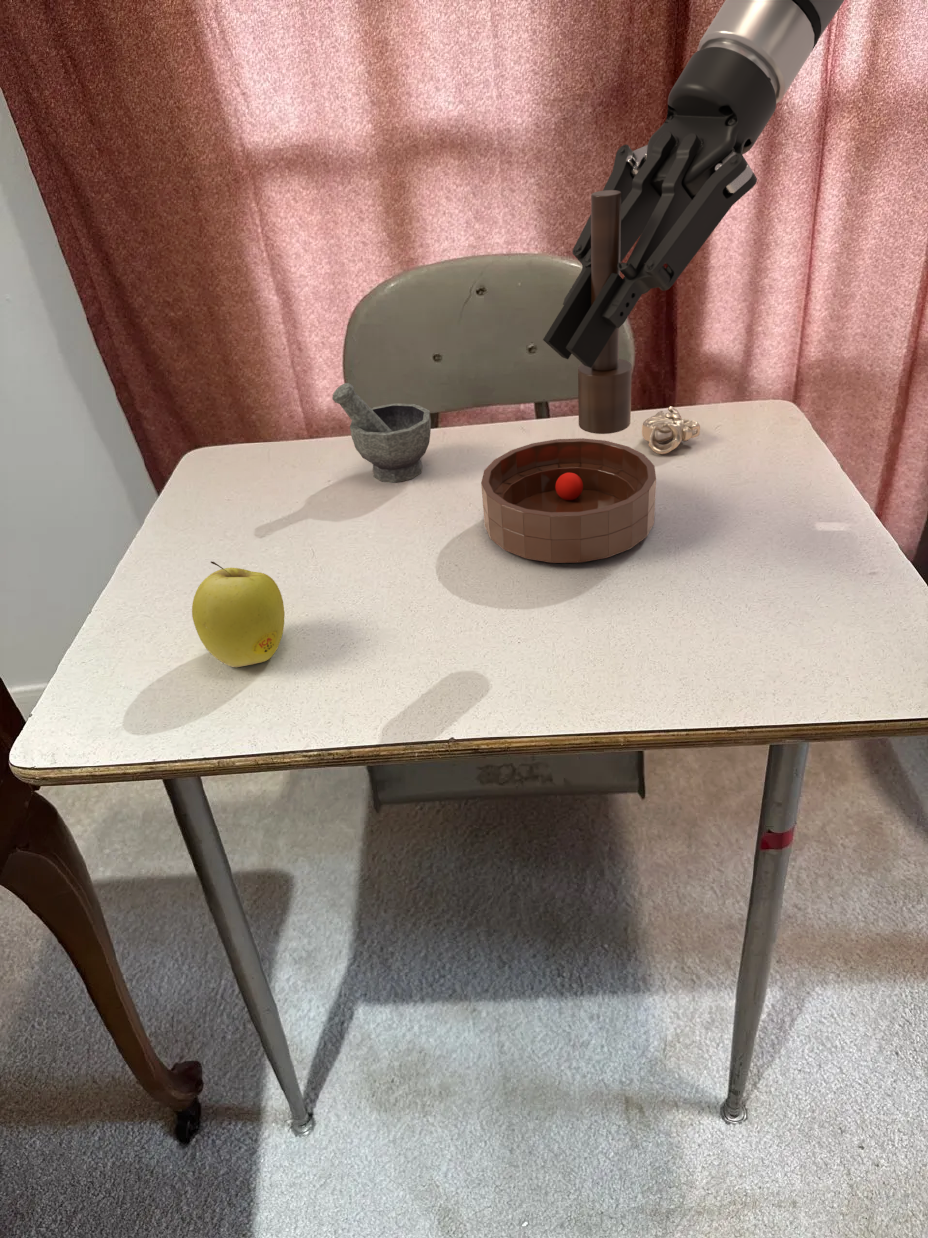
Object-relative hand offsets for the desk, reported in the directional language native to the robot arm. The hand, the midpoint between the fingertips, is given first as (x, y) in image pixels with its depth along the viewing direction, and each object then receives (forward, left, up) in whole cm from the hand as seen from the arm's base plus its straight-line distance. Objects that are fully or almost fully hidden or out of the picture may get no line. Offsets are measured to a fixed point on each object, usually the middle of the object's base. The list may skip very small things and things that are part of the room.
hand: (567, 353), depth 66 cm
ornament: (+32, -11, -23) cm, 41 cm away
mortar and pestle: (+26, +23, -23) cm, 41 cm away
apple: (-10, +29, -23) cm, 38 cm away
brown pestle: (+3, -3, -7) cm, 8 cm away
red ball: (+17, +1, -20) cm, 26 cm away
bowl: (+12, +1, -22) cm, 26 cm away
